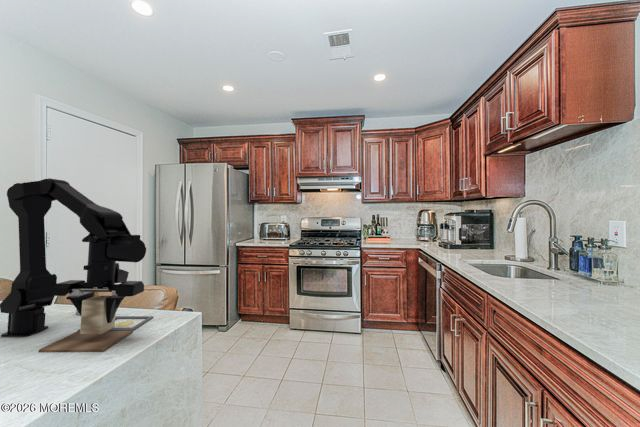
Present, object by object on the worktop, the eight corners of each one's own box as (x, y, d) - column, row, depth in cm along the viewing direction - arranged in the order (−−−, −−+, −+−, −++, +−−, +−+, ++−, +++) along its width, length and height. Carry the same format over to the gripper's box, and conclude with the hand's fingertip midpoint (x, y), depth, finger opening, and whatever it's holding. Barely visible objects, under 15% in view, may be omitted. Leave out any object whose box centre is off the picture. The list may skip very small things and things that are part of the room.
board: (38, 352, 66) (38, 350, 66) (78, 333, 78) (78, 330, 78) (103, 352, 67) (103, 349, 67) (132, 333, 79) (132, 330, 79)
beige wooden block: (80, 333, 70) (82, 300, 71) (94, 326, 75) (96, 295, 76) (101, 333, 71) (103, 300, 71) (114, 326, 76) (116, 295, 76)
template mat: (77, 332, 78) (77, 330, 78) (106, 318, 90) (106, 316, 90) (131, 332, 79) (132, 330, 79) (153, 318, 91) (153, 316, 91)
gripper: (155, 257, 83) (152, 313, 82) (86, 256, 81) (82, 312, 80) (133, 262, 71) (130, 326, 71) (52, 261, 70) (48, 326, 69)
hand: (98, 322), depth 73 cm, fingers closed on beige wooden block, 5 cm apart
